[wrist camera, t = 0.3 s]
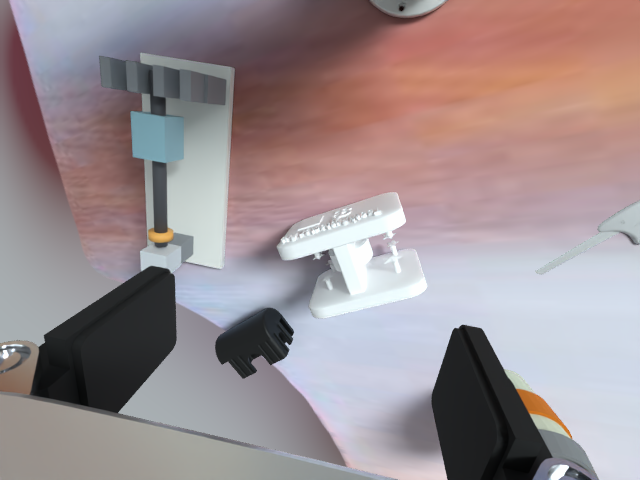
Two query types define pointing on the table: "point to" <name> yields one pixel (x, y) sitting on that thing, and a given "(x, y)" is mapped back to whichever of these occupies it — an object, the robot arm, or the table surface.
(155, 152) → the sleeve
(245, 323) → the end cap
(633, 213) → the pale grey flat piece
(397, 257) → the cable organizer
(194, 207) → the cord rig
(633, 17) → the table surface
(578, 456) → the reusable coffee cup
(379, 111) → the table surface
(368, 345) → the table surface
